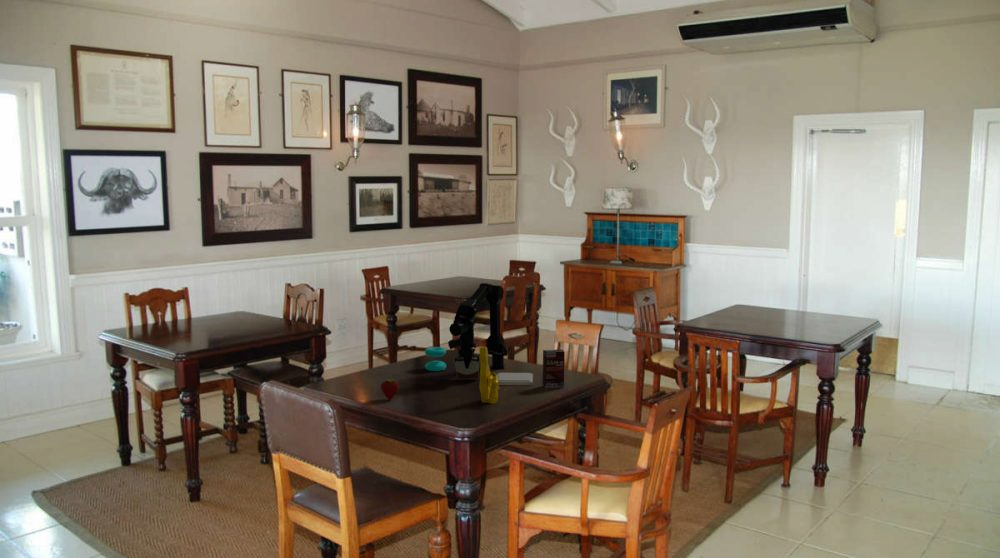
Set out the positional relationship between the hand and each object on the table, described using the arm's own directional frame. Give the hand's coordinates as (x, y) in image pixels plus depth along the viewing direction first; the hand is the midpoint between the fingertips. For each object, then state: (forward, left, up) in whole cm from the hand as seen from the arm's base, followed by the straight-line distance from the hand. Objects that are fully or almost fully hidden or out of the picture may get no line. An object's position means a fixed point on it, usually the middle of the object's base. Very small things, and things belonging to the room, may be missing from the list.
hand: (467, 366), depth 350 cm
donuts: (-20, -17, -6) cm, 27 cm away
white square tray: (+1, +21, -6) cm, 22 cm away
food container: (-1, 0, -5) cm, 5 cm away
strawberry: (+35, -28, -6) cm, 45 cm away
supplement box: (+11, +38, -6) cm, 40 cm away
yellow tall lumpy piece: (+36, +12, -6) cm, 38 cm away
